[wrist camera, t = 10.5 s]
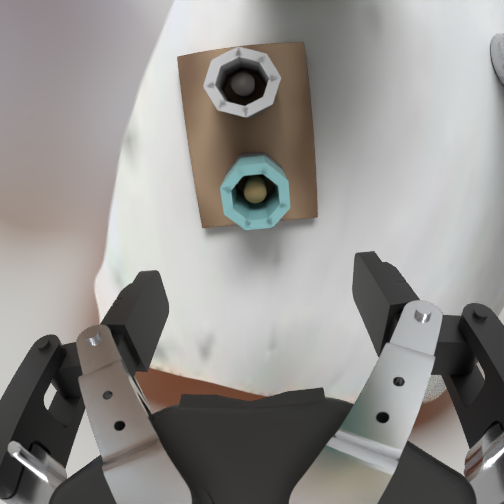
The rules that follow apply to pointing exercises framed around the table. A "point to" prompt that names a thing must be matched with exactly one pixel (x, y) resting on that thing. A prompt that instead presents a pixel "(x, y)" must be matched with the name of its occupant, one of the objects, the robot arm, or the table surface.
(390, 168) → the table surface
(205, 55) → the brown peg stand
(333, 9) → the table surface
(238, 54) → the grey sleeve
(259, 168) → the teal sleeve
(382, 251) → the table surface
